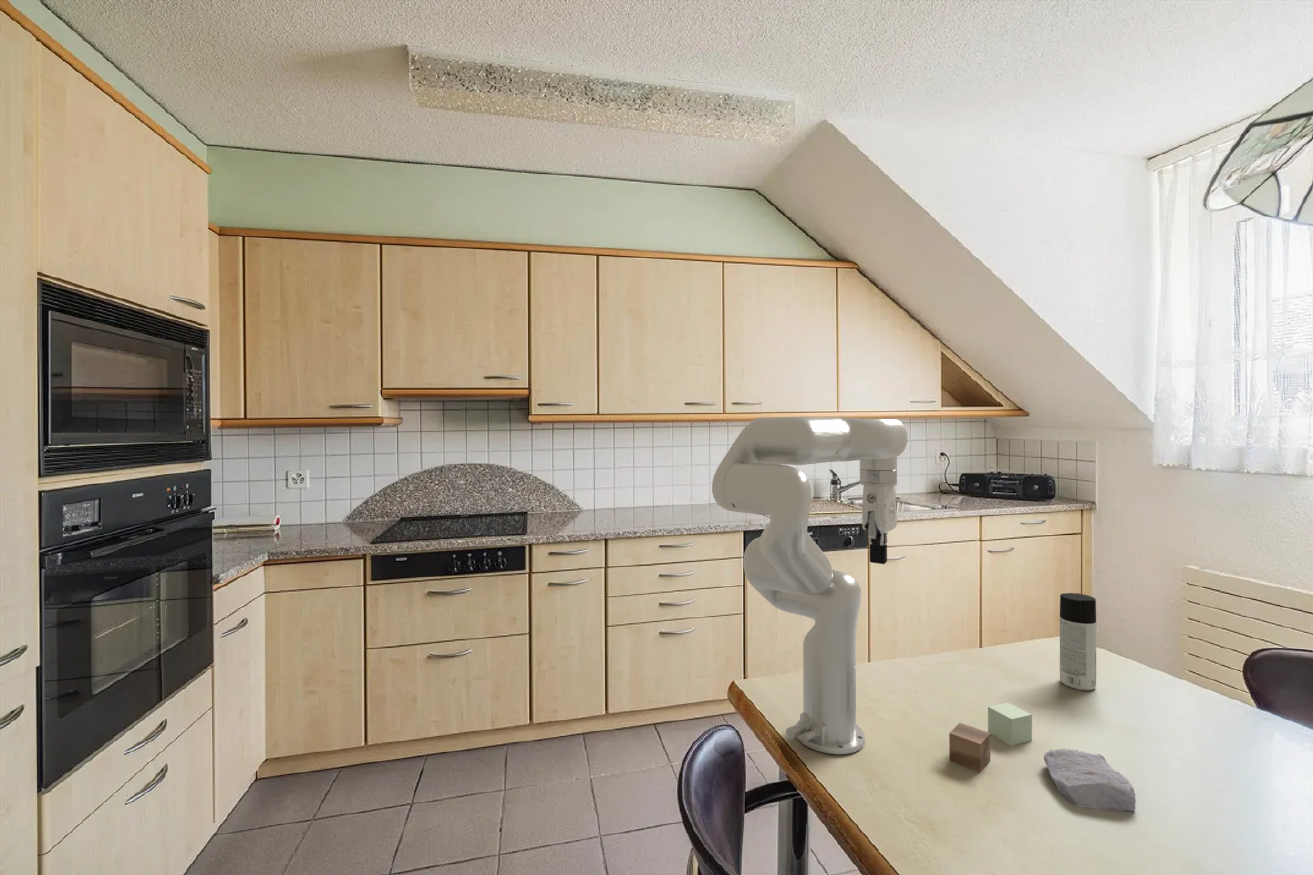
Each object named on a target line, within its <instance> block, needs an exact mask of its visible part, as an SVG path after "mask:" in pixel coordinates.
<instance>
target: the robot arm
mask: <svg viewBox="0 0 1313 875" xmlns="http://www.w3.org/2000/svg"><path fill="white" fill-rule="evenodd" d="M907 431H908V430H907V429H906V427H905V425H904V423H902V421H900V420H898V419H896V418H893V419H892V418H889V419H888V418H887V419H885V418H883V419H882V418H879V419H875V418H857V417H843V416H767V417H766V416H765V417H764V416H763V417H762V416H761V417H757V418H755V419H753V420H751V421H750V422H749V423H748V424H746V426H745V427H744V428H743V429H742V430H741V431H740V432H739V434H738V436H737V437H736V438H735V440H734V442H733V443H731V444H732V445H731V446H730V448H729V449H728V451H727V452H726V454H725V455H724V457H723V458H722V460H721V461H720V463H719V465H718V467H717V468H716V470H715V473H714V474H713V478H712V483H711V492H712V497H713V499H714V502H716V504H717V505H718V506H720V507H721V508H722V509H723V510H726V511H730V512H733V513H734V512H736V513H744V514H751V515H752V514H753V515H759V516H769V518H770V519H769V523H768V524H767V525H766V526H765V528H764V530H763V531H762V533H761V534H760V536H759V537H756V538H753V540H751V541H750V542H749V543H748V545H747V546H746V548H745V551H744V554H743V562H742V563H743V564H742V565H743V571H744V575H745V578H746V579H747V581H748V583H749V584H750V585H751V586H752V587H753V588H754V589H755V590H756V591H757V592H758V594H760V595H761V596H762V597H763V598H764V599H766V601H767V602H768V603H770V605H771V606H773V607H775V608H777V609H778V610H780V611H783V612H786V613H790V614H794V615H799V616H802V617H806V618H810V619H812V620H814V625H813V626H812V627H811V628H810V629H809V630H808V631H807V633H806V634H805V636H804V639H803V644H802V653H803V654H802V672H803V674H802V675H803V680H802V684H803V685H802V688H803V689H802V692H803V695H802V696H803V698H802V700H803V701H802V702H803V705H802V707H803V710H802V711H803V712H802V713H800V714H799V720H797V721H796V723H795V724H794V725H792V726H789V727H787V728H786V730H785V734H786V736H787V737H788V738H789V739H790V740H793V739H798V740H799V742H800V743H802V745H805V746H806V747H808V748H810V749H811V750H814V751H816V752H820V753H824V754H830V755H848V754H853V753H855V752H857V751H859V750H861V749H862V748H863V747H864V745H865V742H866V740H865V739H866V737H865V735H866V734H865V732H864V730H863V729H862V728H861V727H860V726H859V725H858V724H857V687H856V686H857V682H856V681H857V669H856V668H857V662H856V660H857V658H856V656H857V655H856V654H857V652H856V645H857V642H856V641H857V626H858V619H859V615H860V614H859V613H860V607H861V602H862V589H861V586H860V584H859V583H858V581H857V580H856V579H855V578H854V577H853V576H851V575H850V574H848V573H847V572H843V571H840V570H836V569H833V568H832V564H831V563H830V559H829V558H828V556H827V555H826V553H825V552H823V551H822V549H821V548H820V546H819V545H817V543H816V542H815V540H814V539H813V537H812V536H811V535H810V534H809V532H808V525H809V519H810V509H811V502H812V501H811V500H812V488H811V485H810V481H809V479H808V477H807V476H806V474H805V473H804V472H803V471H801V470H800V469H798V468H796V467H794V466H804V465H805V466H807V465H814V464H821V463H822V464H824V463H833V462H834V463H836V462H837V463H838V462H839V463H840V462H844V463H845V462H853V461H859V485H860V486H863V489H862V505H861V506H862V507H861V525H862V529H863V530H864V531H865V532H867V538H868V541H869V562H870V563H872V564H879V565H885V564H887V562H888V544H887V543H888V533H890V531H892V530H894V529H895V528H897V525H898V520H897V499H896V489H895V486H898V457H899V456H901V455H902V454H903V453H904V451H905V449H906V447H907V446H908V439H909V436H908V432H907Z"/></svg>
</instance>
